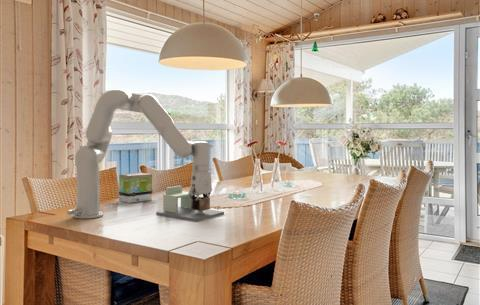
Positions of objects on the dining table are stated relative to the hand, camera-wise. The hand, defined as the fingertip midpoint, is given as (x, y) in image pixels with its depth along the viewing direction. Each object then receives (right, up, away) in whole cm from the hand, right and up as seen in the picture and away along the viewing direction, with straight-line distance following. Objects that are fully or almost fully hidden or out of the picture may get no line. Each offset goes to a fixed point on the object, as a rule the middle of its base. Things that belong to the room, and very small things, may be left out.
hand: (200, 207), depth 188 cm
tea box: (-39, -1, +37) cm, 54 cm away
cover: (-11, -2, +7) cm, 13 cm away
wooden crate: (0, -1, 0) cm, 1 cm away
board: (-5, -4, +4) cm, 7 cm away
